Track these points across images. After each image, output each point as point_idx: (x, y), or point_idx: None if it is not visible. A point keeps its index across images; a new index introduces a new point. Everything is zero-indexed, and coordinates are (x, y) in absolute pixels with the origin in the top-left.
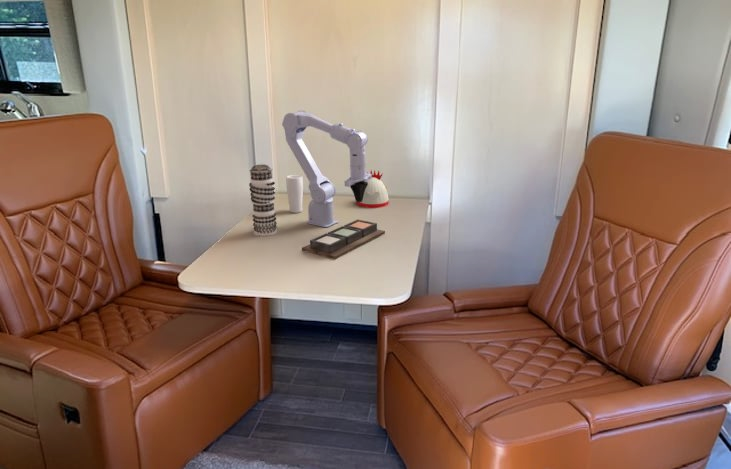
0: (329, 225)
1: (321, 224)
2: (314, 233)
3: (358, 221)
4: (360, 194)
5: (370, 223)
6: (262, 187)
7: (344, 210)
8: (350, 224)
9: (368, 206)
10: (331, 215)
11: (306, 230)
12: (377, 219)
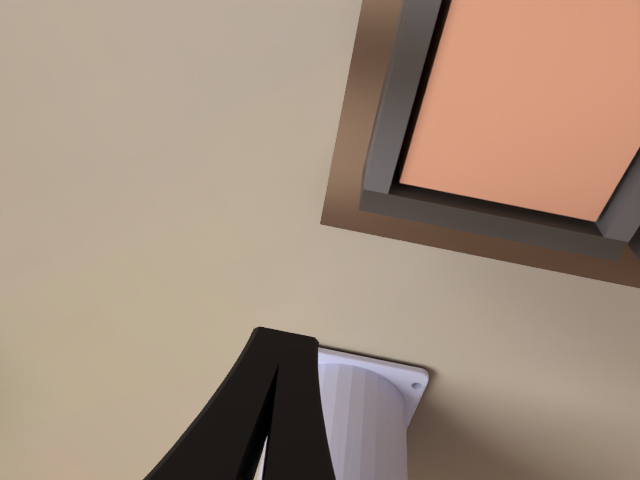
0: (390, 365)
1: (405, 407)
2: (567, 390)
3: (389, 185)
4: (331, 475)
5: (437, 8)
6: None
7: (37, 377)
8: (537, 220)
9: None
10: (348, 420)
11: (514, 438)
12: (20, 98)
